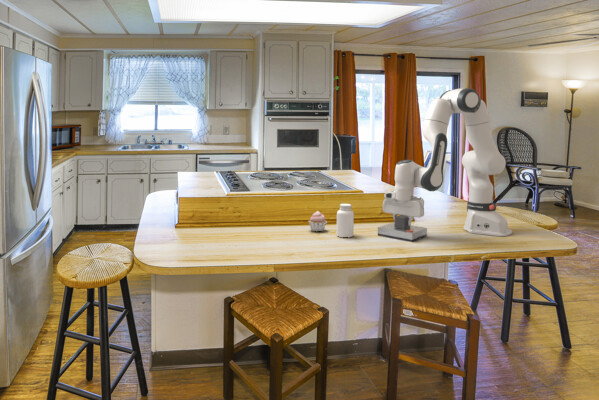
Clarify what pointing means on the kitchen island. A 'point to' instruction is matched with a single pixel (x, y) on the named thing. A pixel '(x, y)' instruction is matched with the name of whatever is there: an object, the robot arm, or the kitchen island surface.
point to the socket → (402, 232)
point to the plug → (401, 222)
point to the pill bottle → (345, 221)
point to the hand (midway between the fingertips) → (402, 224)
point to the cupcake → (317, 222)
